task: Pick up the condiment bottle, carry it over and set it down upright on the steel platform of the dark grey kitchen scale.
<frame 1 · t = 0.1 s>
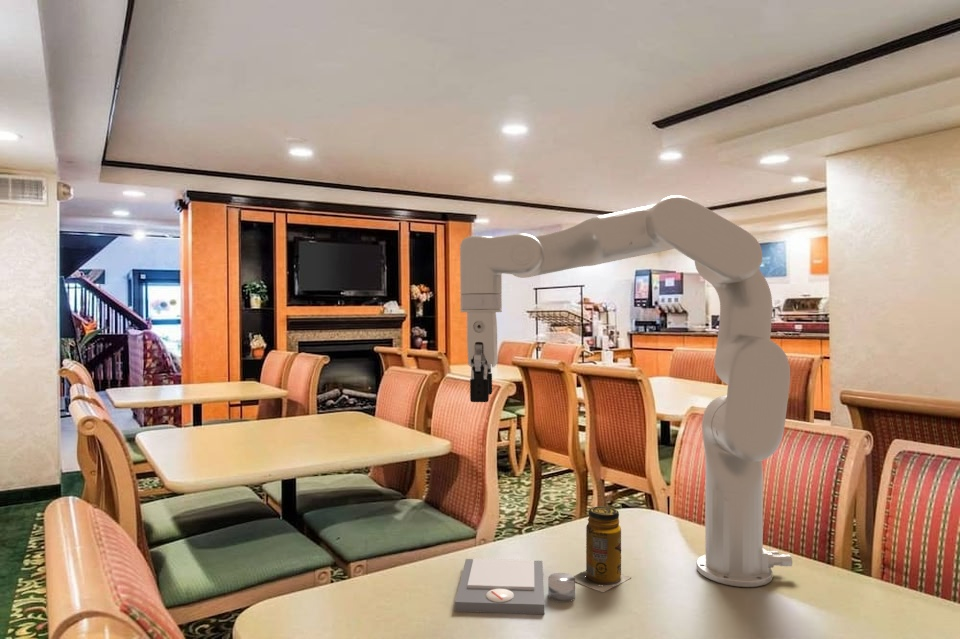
hand: (481, 397, 116), 31 cm above the table, tool pointing down, fingers open, 9 cm apart
condiment: (600, 580, 111), on the table
scale: (501, 588, 107), on the table
knob: (561, 596, 104), on the table
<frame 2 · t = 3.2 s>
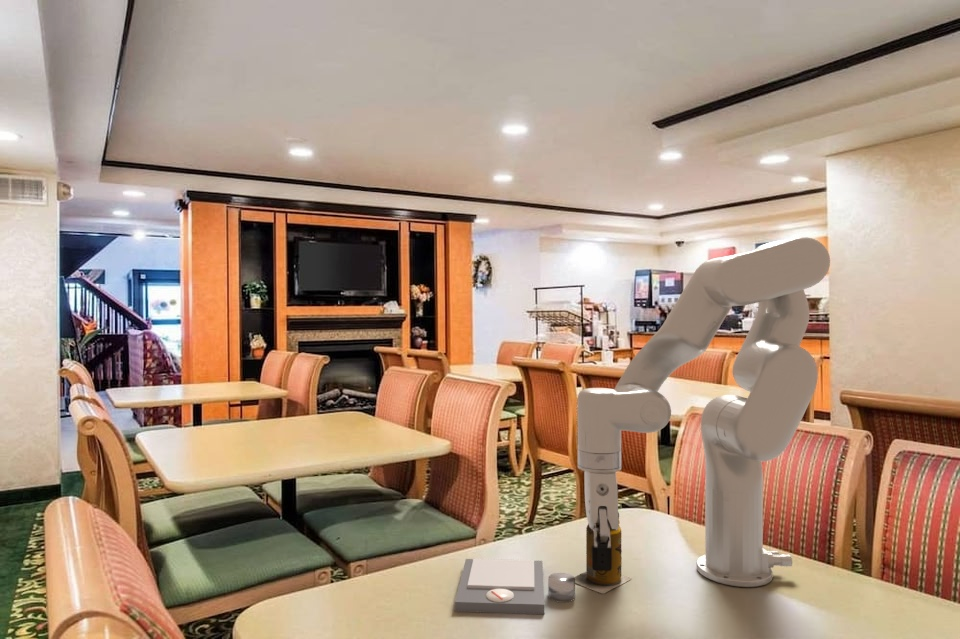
hand: (599, 560, 111), 3 cm above the table, tool pointing down, fingers closed on condiment, 6 cm apart
condiment: (600, 581, 110), on the table, touching gripper
everything else where it was.
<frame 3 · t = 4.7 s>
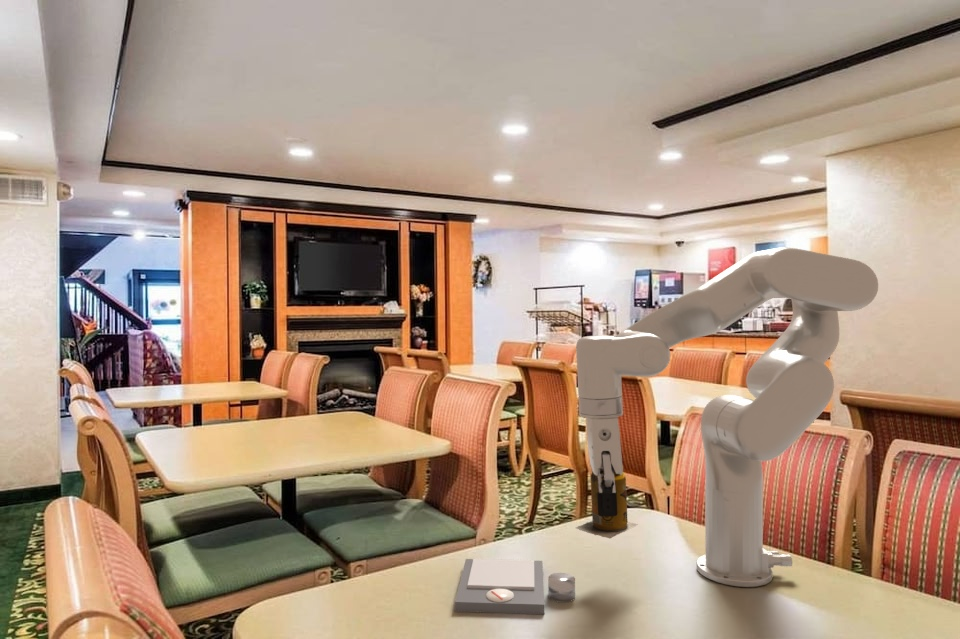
hand: (605, 507, 111), 12 cm above the table, tool pointing down, fingers closed on condiment, 6 cm apart
condiment: (606, 528, 110), point 9 cm above the table, touching gripper
everything else where it was.
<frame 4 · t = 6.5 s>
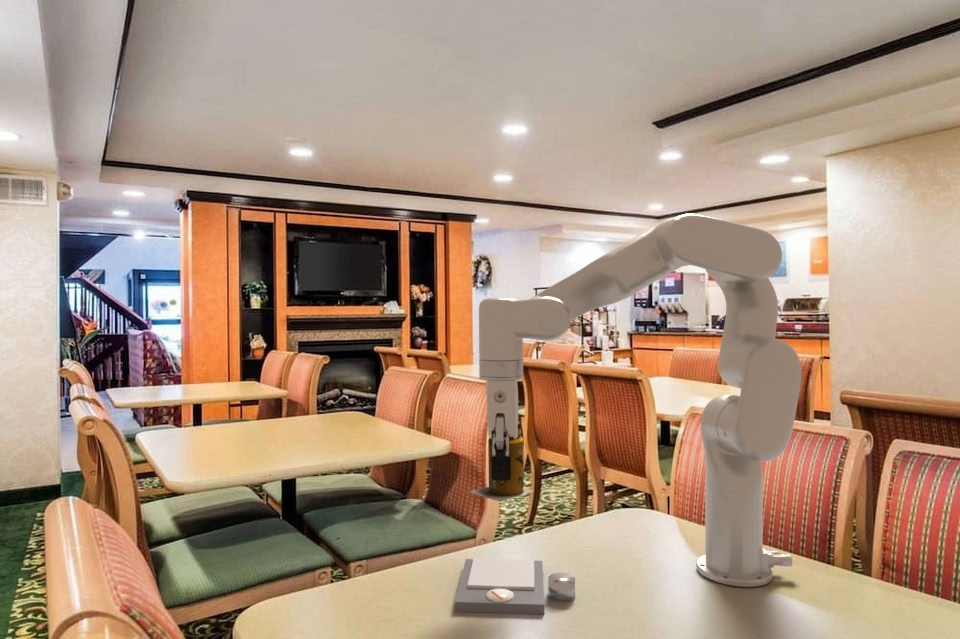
hand: (502, 473, 109), 19 cm above the table, tool pointing down, fingers closed on condiment, 6 cm apart
condiment: (502, 493, 108), point 16 cm above the table, touching gripper
everything else where it was.
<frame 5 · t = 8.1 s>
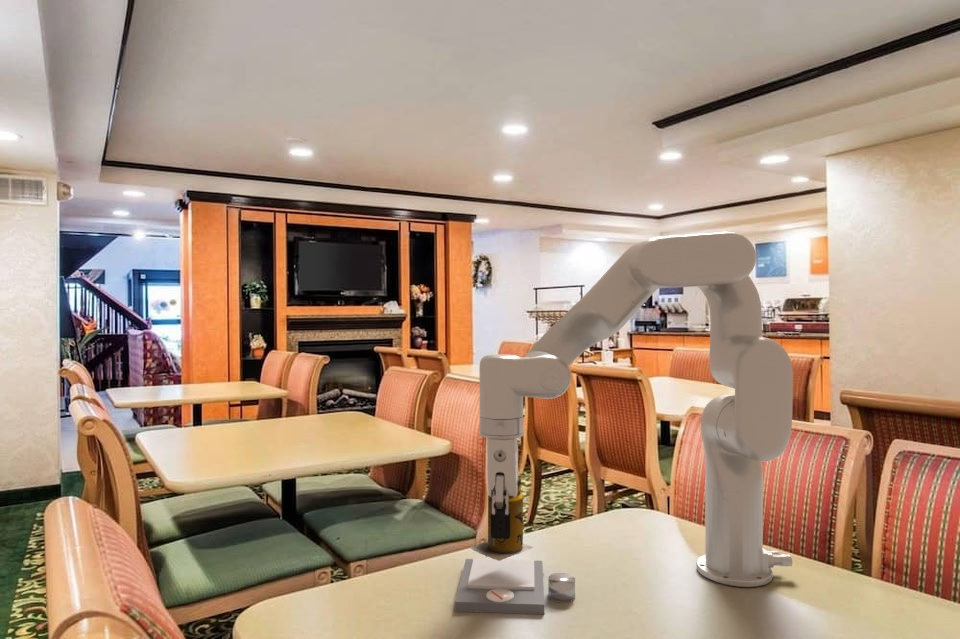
hand: (501, 529, 109), 9 cm above the table, tool pointing down, fingers closed on condiment, 6 cm apart
condiment: (501, 550, 108), point 6 cm above the table, touching gripper
everything else where it was.
when the fingers open (5 cm above the table, at t = 9.4 s): condiment stays where it is, resting on scale.
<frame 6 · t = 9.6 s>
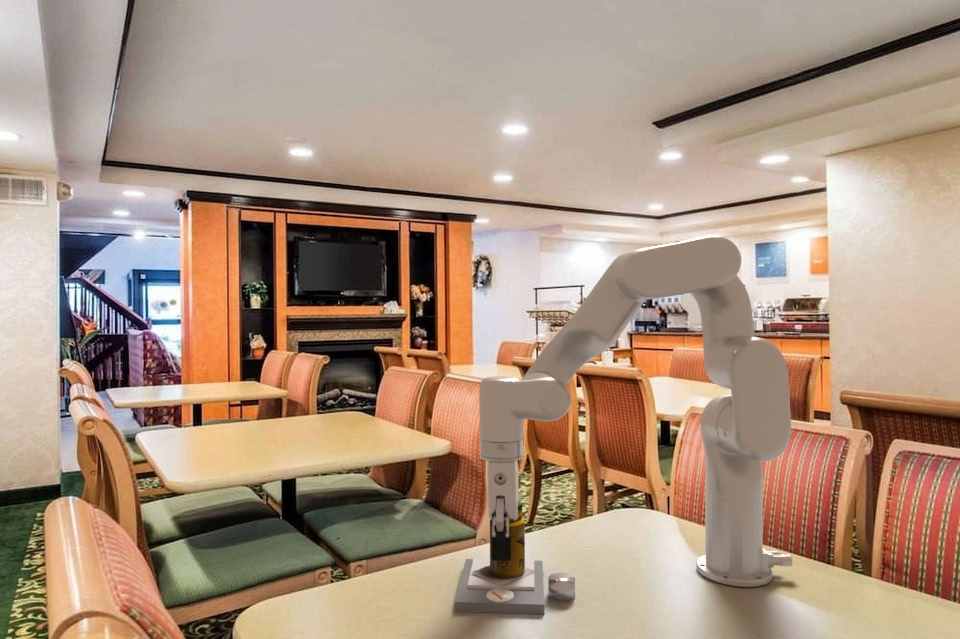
hand: (502, 549, 109), 6 cm above the table, tool pointing down, fingers open, 7 cm apart
condiment: (503, 574, 109), point 2 cm above the table, touching scale
everything else where it was.
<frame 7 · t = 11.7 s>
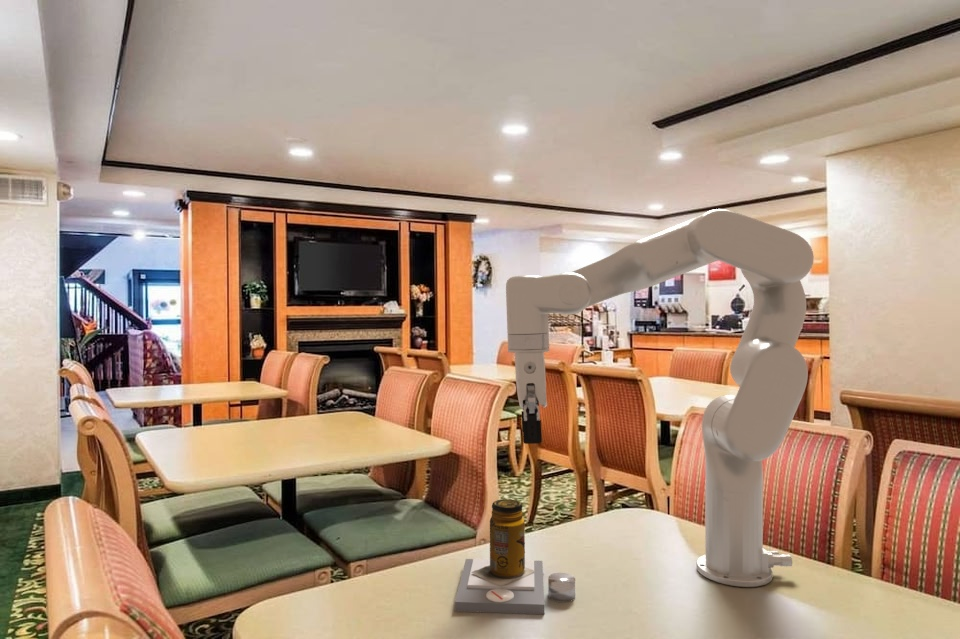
hand: (531, 437, 115), 24 cm above the table, tool pointing down, fingers open, 9 cm apart
nothing on the table moved.
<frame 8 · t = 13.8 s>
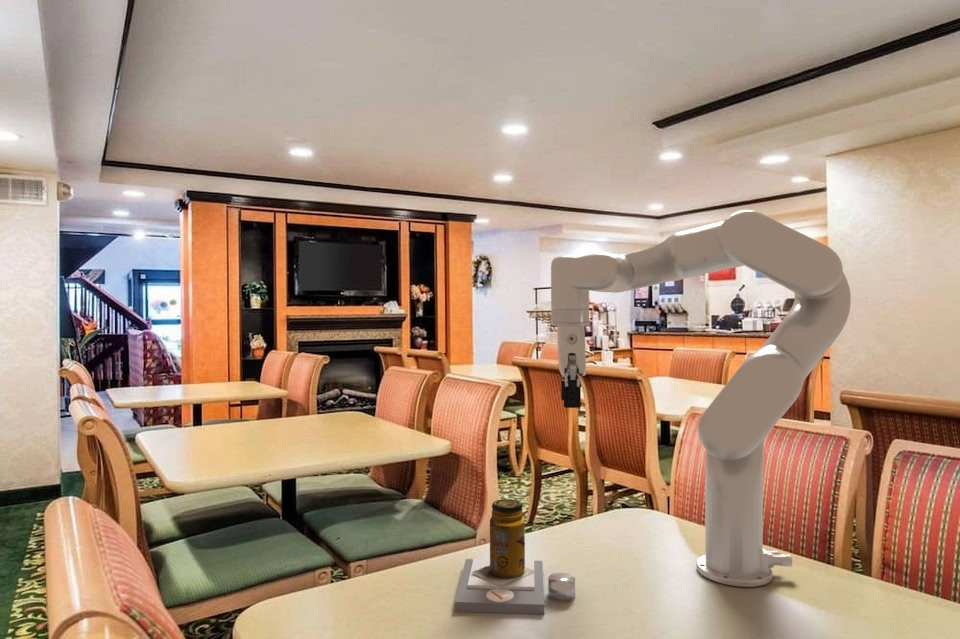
hand: (570, 403, 126), 28 cm above the table, tool pointing down, fingers open, 9 cm apart
nothing on the table moved.
at the end: condiment inside the target area on the scale (0.4 cm from its centre), point 1.8 cm above the scale's base; condiment tilted 0°; the gripper is holding nothing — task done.
